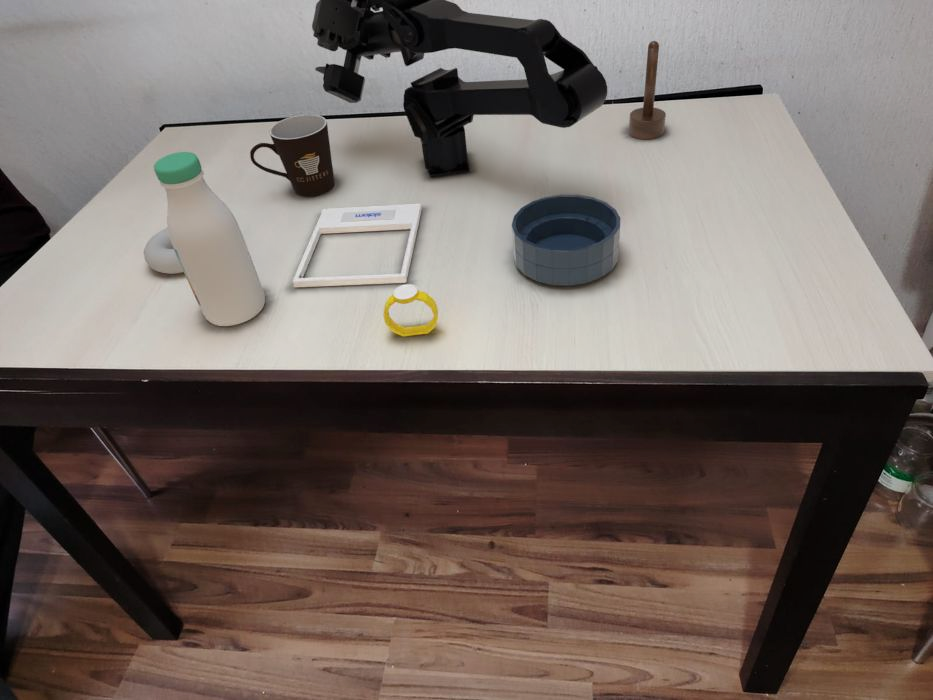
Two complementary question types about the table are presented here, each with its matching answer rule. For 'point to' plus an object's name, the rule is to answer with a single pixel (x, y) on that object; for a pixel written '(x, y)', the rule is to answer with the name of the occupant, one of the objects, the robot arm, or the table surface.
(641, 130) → the wooden plunger
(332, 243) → the table surface
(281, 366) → the table surface
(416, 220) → the photo frame
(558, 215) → the bowl
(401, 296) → the watch
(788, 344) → the table surface
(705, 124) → the table surface
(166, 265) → the donut
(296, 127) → the coffee mug
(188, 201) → the milk bottle
